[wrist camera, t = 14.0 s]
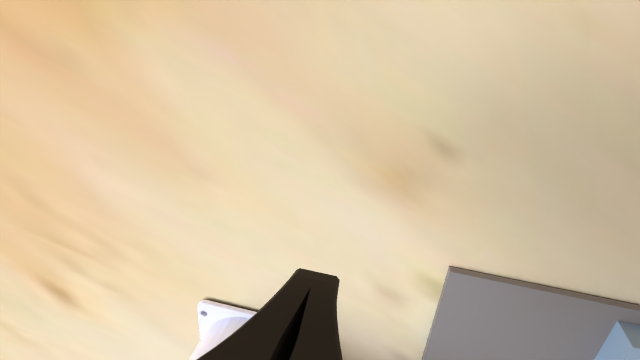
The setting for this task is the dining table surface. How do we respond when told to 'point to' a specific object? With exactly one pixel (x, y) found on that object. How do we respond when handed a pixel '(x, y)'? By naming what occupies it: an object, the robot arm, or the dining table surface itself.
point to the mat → (519, 320)
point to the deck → (621, 343)
